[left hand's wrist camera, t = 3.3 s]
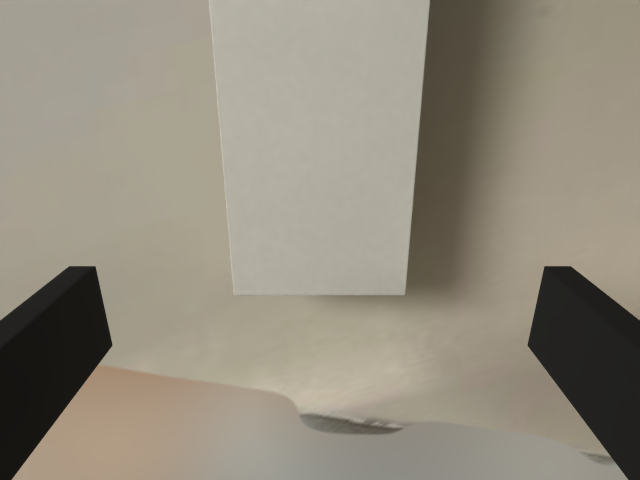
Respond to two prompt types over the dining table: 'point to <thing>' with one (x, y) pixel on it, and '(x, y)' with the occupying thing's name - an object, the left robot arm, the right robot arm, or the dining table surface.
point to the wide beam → (319, 141)
